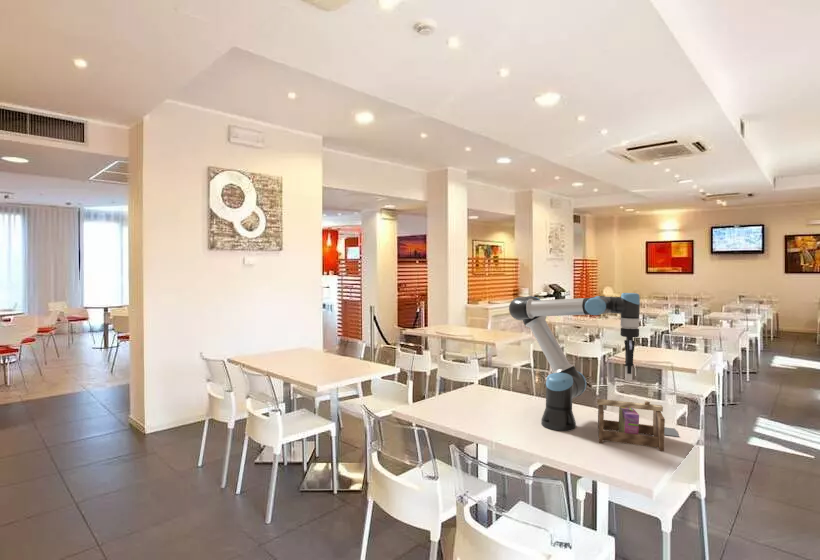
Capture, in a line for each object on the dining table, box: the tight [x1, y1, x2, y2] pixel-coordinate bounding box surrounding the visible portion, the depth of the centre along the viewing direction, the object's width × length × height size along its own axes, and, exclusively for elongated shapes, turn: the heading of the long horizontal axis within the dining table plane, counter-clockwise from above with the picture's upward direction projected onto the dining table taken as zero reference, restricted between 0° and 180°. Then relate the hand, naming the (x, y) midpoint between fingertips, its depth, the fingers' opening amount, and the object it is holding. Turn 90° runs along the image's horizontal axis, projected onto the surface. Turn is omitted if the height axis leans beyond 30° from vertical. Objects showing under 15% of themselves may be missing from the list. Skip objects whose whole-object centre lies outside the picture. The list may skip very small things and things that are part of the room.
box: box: [617, 407, 640, 434], centre depth 203 cm, size 10×6×12 cm, turn 168°
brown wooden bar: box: [596, 398, 664, 413], centre depth 202 cm, size 26×3×3 cm, turn 70°
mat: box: [664, 426, 680, 438], centre depth 211 cm, size 10×11×1 cm
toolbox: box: [597, 405, 666, 452], centre depth 201 cm, size 24×20×13 cm
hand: (628, 380), depth 209 cm, fingers closed
